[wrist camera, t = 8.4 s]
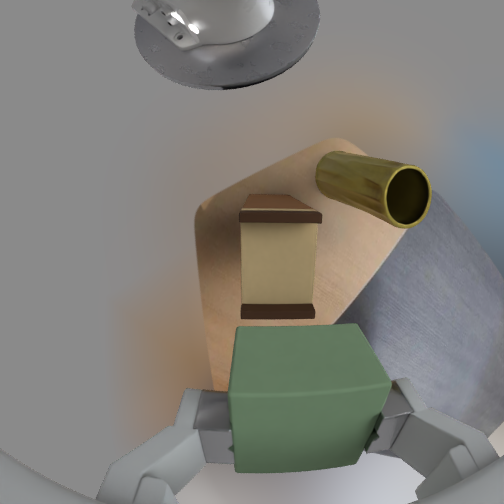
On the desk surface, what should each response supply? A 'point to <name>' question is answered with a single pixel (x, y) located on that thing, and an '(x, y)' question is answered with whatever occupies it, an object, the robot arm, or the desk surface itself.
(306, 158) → the desk surface
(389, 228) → the desk surface
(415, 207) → the vase
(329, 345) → the green pad
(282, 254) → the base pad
